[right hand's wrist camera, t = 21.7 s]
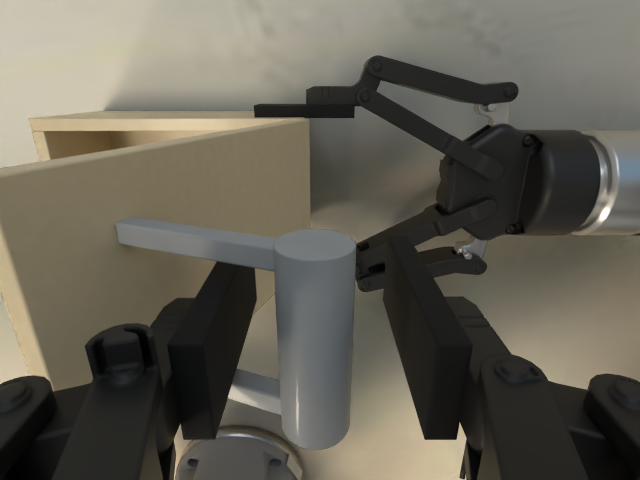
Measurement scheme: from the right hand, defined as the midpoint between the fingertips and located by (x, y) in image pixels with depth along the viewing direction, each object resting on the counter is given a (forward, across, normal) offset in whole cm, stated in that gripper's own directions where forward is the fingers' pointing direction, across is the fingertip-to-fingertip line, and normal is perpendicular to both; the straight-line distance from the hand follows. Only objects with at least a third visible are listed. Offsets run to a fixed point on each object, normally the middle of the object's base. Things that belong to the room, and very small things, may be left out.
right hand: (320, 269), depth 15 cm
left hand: (+14, +4, 0) cm, 15 cm away
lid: (+4, +5, 0) cm, 6 cm away
